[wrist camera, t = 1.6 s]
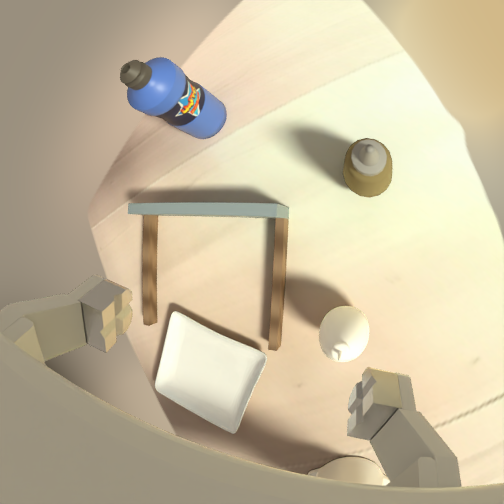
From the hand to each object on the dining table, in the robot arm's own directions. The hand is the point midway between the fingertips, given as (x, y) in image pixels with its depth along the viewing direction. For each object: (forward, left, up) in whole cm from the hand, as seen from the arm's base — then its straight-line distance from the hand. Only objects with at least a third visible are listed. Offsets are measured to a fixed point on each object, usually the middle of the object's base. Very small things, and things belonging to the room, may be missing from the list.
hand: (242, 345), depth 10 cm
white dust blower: (-11, -2, -46) cm, 47 cm away
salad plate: (-26, +24, -46) cm, 58 cm away
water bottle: (+26, +27, -46) cm, 59 cm away
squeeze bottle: (+14, -4, -46) cm, 48 cm away
